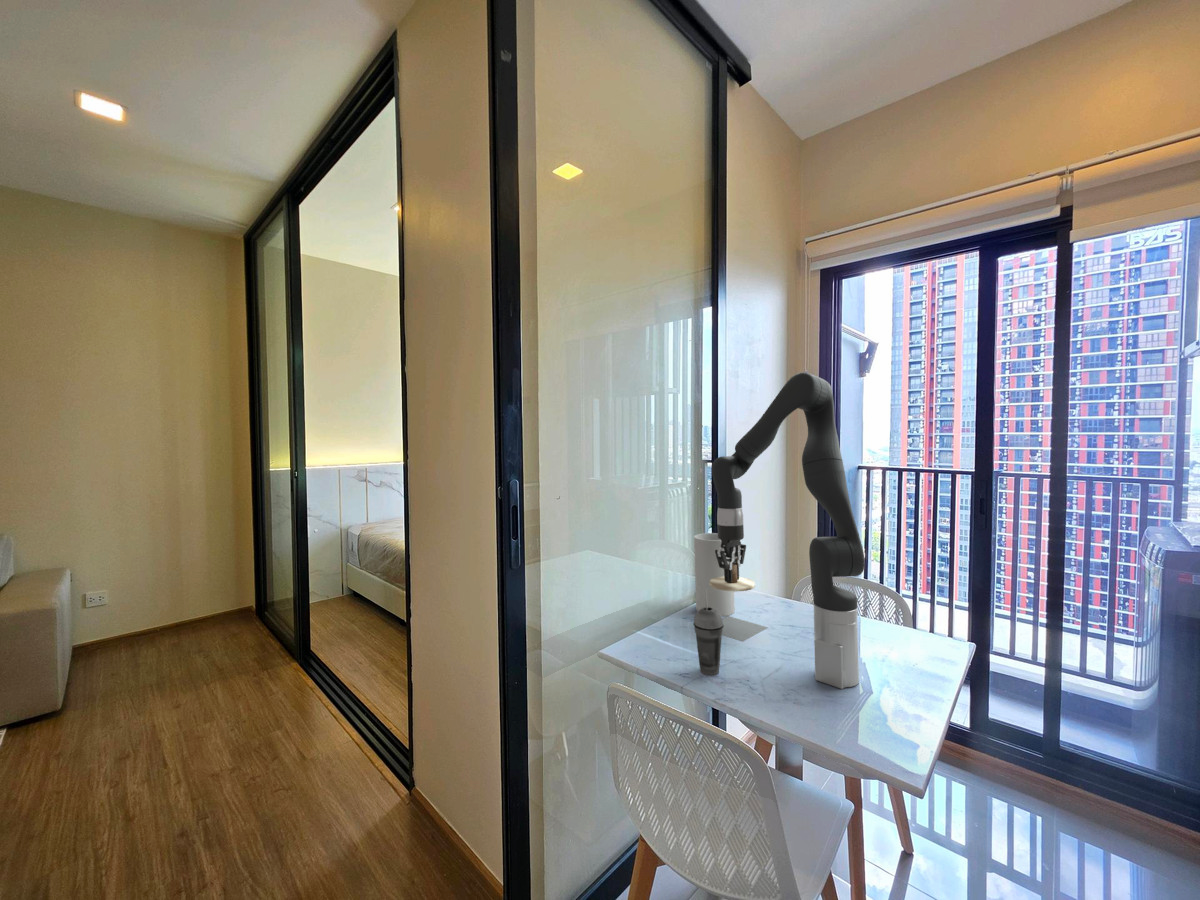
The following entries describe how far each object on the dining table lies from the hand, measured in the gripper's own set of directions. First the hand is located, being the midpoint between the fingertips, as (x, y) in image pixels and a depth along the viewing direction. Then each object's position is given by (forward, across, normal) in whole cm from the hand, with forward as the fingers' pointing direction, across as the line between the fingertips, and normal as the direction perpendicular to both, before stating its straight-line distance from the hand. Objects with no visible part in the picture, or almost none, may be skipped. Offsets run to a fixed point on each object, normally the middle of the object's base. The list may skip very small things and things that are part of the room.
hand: (732, 580), depth 142 cm
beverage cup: (+16, -26, -9) cm, 32 cm away
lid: (+1, 0, 0) cm, 1 cm away
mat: (+15, +1, 0) cm, 15 cm away
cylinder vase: (+15, +10, +13) cm, 22 cm away
